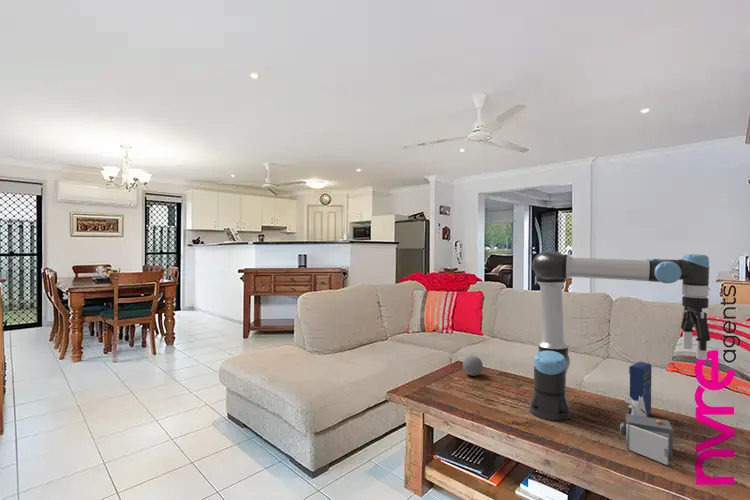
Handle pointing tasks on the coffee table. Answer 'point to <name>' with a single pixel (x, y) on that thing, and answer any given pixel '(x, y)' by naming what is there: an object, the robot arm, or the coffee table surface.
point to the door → (647, 443)
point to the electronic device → (641, 384)
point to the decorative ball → (472, 365)
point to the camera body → (650, 428)
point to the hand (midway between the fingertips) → (694, 353)
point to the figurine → (636, 406)
